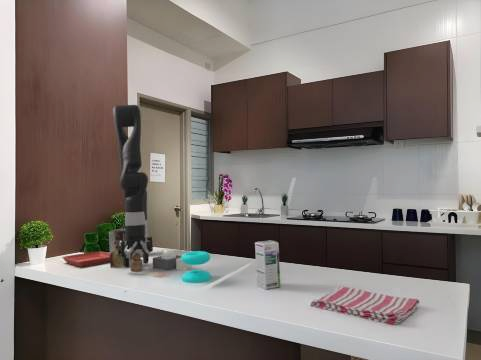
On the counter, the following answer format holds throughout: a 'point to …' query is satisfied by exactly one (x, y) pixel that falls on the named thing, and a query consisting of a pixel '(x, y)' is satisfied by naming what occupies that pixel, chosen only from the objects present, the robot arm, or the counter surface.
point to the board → (161, 266)
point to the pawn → (136, 263)
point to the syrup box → (267, 264)
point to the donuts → (196, 259)
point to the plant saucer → (88, 259)
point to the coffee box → (113, 241)
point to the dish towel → (367, 305)
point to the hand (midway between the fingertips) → (136, 265)
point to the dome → (168, 254)
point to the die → (181, 265)
